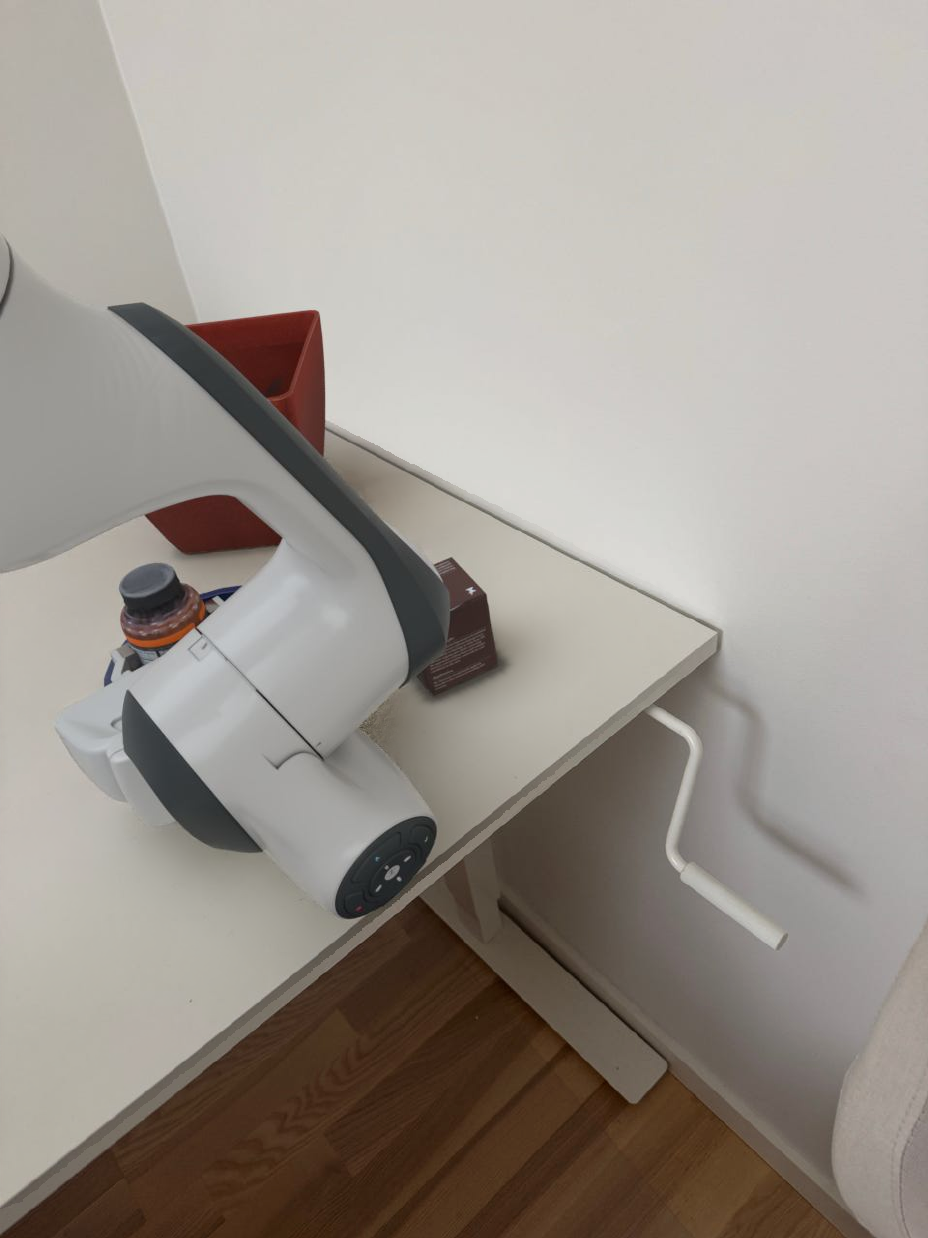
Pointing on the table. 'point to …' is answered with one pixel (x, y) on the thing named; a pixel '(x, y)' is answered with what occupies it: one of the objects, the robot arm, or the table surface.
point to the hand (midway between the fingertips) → (166, 630)
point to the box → (462, 632)
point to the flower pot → (295, 385)
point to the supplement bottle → (158, 610)
